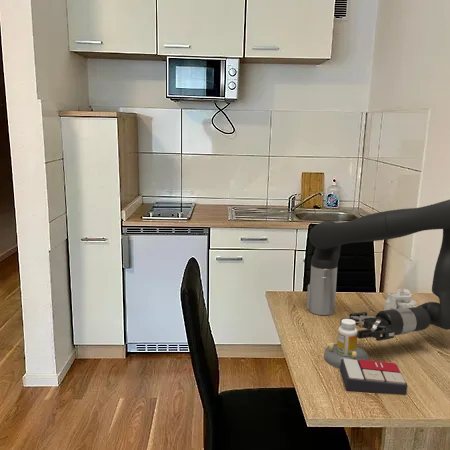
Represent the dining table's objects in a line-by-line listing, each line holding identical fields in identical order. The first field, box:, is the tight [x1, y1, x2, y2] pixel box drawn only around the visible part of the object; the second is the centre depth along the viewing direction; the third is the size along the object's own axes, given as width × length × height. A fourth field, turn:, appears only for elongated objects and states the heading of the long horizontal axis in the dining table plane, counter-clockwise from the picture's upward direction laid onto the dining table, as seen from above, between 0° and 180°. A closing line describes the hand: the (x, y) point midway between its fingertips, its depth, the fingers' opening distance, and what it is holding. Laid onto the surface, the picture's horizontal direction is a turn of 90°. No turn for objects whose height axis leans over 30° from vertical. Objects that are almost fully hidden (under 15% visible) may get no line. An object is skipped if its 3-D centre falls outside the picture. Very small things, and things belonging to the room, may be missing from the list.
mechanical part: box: [383, 287, 418, 311], centre depth 162 cm, size 11×12×12 cm
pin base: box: [324, 341, 369, 369], centre depth 136 cm, size 12×12×4 cm
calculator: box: [339, 359, 408, 396], centre depth 124 cm, size 11×4×15 cm
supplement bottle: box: [336, 318, 358, 357], centre depth 135 cm, size 5×5×10 cm
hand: (349, 328), depth 134 cm, fingers open, 8 cm apart
